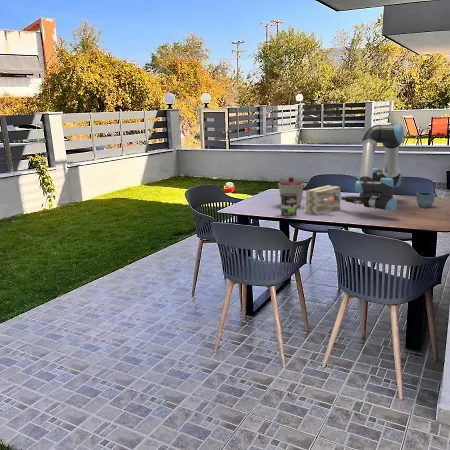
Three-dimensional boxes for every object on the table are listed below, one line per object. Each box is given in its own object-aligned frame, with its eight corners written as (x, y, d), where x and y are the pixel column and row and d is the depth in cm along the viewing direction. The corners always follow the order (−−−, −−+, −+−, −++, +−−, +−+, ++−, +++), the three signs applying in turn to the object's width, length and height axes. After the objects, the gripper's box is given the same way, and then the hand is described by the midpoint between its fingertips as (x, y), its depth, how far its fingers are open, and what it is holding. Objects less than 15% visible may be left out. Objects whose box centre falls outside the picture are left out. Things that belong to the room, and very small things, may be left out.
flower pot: (414, 205, 308) (415, 192, 306) (427, 205, 309) (428, 192, 307) (421, 208, 300) (422, 195, 298) (434, 207, 300) (435, 194, 298)
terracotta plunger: (314, 203, 296) (314, 195, 295) (319, 202, 299) (319, 194, 298) (329, 205, 288) (330, 198, 286) (334, 204, 291) (334, 196, 290)
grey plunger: (321, 199, 309) (321, 192, 307) (326, 198, 312) (326, 190, 310) (336, 201, 300) (336, 194, 299) (341, 200, 303) (341, 192, 302)
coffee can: (299, 216, 290) (299, 195, 286) (284, 218, 287) (284, 196, 284) (292, 213, 299) (292, 192, 296) (278, 215, 297) (278, 193, 293)
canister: (273, 207, 320) (272, 177, 314) (287, 202, 332) (287, 174, 327) (294, 210, 308) (294, 179, 302) (309, 205, 320) (309, 176, 315)
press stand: (305, 212, 300) (306, 190, 296) (327, 206, 315) (328, 185, 312) (318, 215, 293) (318, 192, 289) (339, 208, 308) (340, 186, 304)
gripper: (365, 209, 280) (333, 204, 297) (376, 205, 289) (344, 201, 306) (366, 197, 278) (333, 193, 295) (377, 194, 287) (344, 190, 304)
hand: (339, 197), depth 301 cm, fingers closed
